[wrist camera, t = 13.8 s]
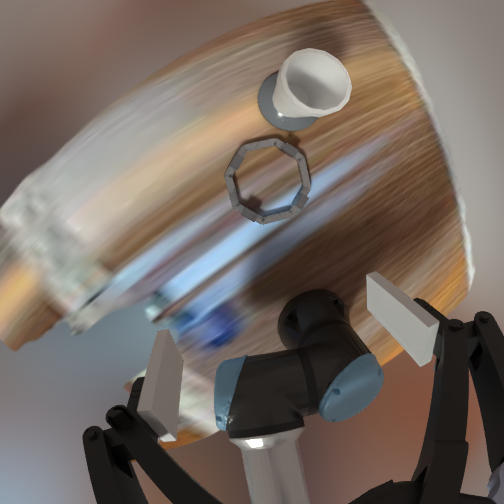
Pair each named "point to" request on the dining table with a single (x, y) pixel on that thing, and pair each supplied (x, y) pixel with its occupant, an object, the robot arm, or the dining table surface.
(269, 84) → the coaster
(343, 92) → the foam cup
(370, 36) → the dining table surface
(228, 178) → the collar
